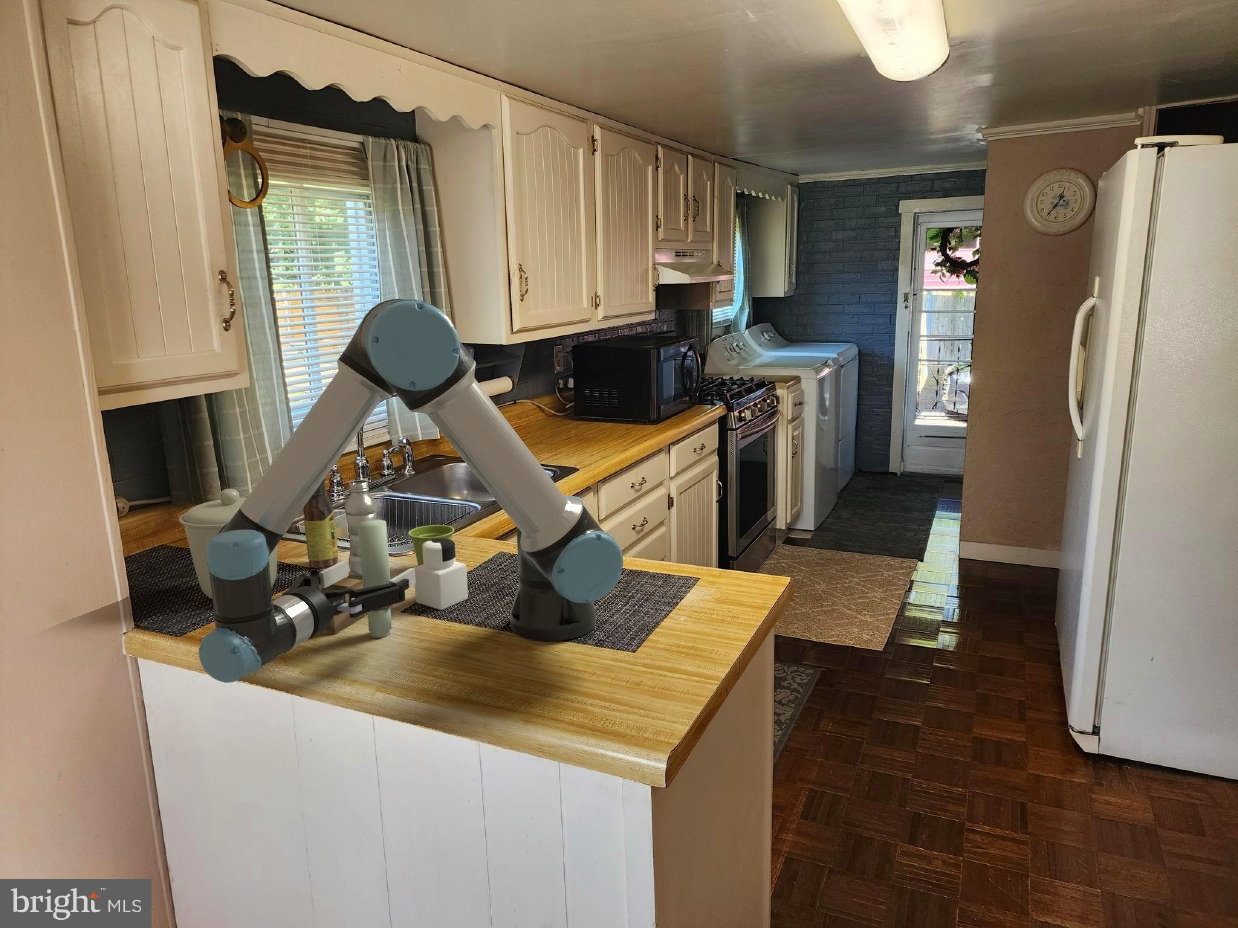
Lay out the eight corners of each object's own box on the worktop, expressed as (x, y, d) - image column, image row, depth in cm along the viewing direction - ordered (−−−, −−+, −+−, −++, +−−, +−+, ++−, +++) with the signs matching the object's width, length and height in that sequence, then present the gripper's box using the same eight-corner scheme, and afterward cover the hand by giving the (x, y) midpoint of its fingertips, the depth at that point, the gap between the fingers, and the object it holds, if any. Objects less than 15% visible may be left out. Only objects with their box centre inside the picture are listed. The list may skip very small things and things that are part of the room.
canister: (236, 573, 179) (225, 476, 174) (308, 581, 174) (298, 481, 169) (167, 603, 162) (153, 497, 158) (245, 613, 157) (232, 504, 152)
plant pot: (403, 569, 180) (400, 530, 178) (442, 559, 186) (440, 521, 184) (424, 581, 173) (421, 540, 171) (464, 570, 179) (462, 531, 177)
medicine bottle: (443, 591, 167) (439, 533, 164) (468, 598, 163) (465, 539, 160) (415, 602, 161) (410, 542, 158) (441, 610, 157) (437, 549, 154)
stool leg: (400, 630, 148) (391, 520, 144) (384, 641, 144) (375, 528, 140) (377, 627, 150) (368, 518, 145) (361, 637, 145) (351, 525, 141)
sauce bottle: (341, 566, 182) (333, 476, 178) (310, 571, 180) (301, 480, 175) (336, 557, 188) (328, 470, 184) (306, 562, 185) (298, 474, 181)
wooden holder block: (379, 607, 159) (377, 582, 158) (335, 634, 147) (333, 607, 146) (322, 599, 163) (320, 575, 162) (274, 625, 151) (272, 598, 150)
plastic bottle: (369, 567, 181) (362, 476, 177) (388, 574, 177) (381, 481, 173) (343, 575, 176) (335, 482, 172) (362, 582, 172) (354, 487, 168)
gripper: (231, 631, 131) (321, 584, 151) (368, 651, 123) (444, 600, 143) (226, 585, 130) (317, 544, 149) (364, 603, 121) (441, 557, 141)
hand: (379, 571), depth 146 cm, fingers open, 13 cm apart
